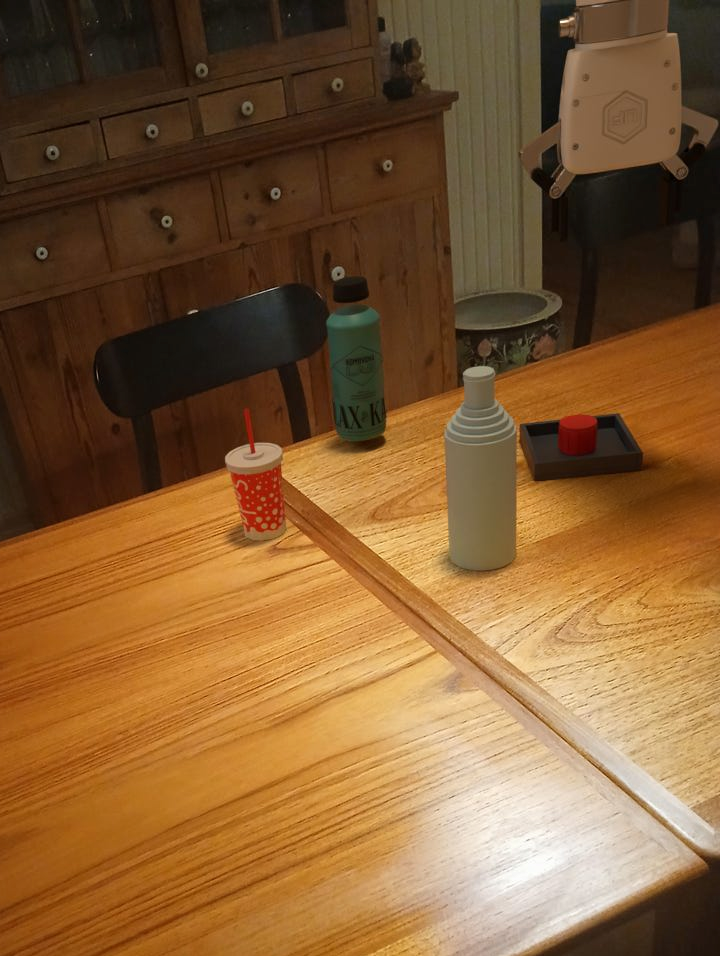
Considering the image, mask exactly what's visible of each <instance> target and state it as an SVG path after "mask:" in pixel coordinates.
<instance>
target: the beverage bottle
mask: <svg viewBox="0 0 720 956" xmlns="http://www.w3.org/2000/svg"><path fill="white" fill-rule="evenodd" d="M369 297H370V290H369V286H368V279H367V278H366V277H364V276H360V275H355V276H354V275H353V276H345V277H342V278H339V279H336V280H335V281H334V282H333V284H332V301H333V302H334V303H338V304H347V305H344V306H340V307H337V308H336V309H335V310H334V311H332V313H331V314H330V315H329V316H328V317H327V319H326V321H325V326H326V330H327V341H328V342H327V343H328V355H329V364H330V367H329V368H330V369H329V370H328V371H329V374H330V381H329V383H331V387H330V389H331V390H330V391H331V395H332V396H331V401H332V411H333V421H334V424H333V425H334V426H333V427H335V429H334V431H335V433H337V436H338V437H339V438H340V439H342V440H344V441H349V442H364V441H369V440H373V439H376V438H378V437H380V436H381V435H383V434H384V433H385V431H386V429H387V423H388V420H387V418H388V415H387V413H388V411H387V408H386V397H387V396H386V395H387V394H385V389H386V387H385V381H384V378H385V375H384V368H383V367H384V366H383V359H384V356H383V354H382V343H381V327H380V318H381V317H380V314H379V313H378V311H376V310H375V309H374V308H372V307H371V306H369V305H368V304H365V303H364V304H363V303H362V304H361V303H360V304H359V303H358V302H361V301H364V300H366V299H368V298H369ZM356 302H357V304H351V303H356Z"/></svg>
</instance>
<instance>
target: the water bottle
mask: <svg viewBox="0 0 720 956" xmlns="http://www.w3.org/2000/svg"><path fill="white" fill-rule="evenodd" d="M495 377H496V371H495V369H494V368H493V367H491V366H486V365H480V366H479V365H478V366H473V367H469V368H467V369H466V370H464V371H463V372H462V380H463V391H464V393H463V394H464V395H463V396H464V401H463V402H461V404H460V407H458V408H457V409H456V411H455V413H454V414H453V415H452V417H451V419H450V420H448V422H447V423H446V428H445V429H444V433H443V434H444V459H445V462H444V463H445V484H446V486H445V487H446V505H447V506H446V507H447V509H446V510H447V511H446V512H447V531H448V532H447V533H448V555H449V559H450V561H451V562H452V563H453V565H455V566H457V567H459V568H462V569H465V570H469V571H477V572H478V571H480V572H483V571H491V570H497V569H500V568H503V567H506V566H508V565H509V564H511V563H512V562H513V561H514V560H515V559H516V556H517V529H518V528H517V525H518V523H517V519H518V517H517V516H518V515H517V509H518V507H517V505H518V504H517V502H518V501H517V500H518V499H517V491H518V490H517V489H518V488H517V477H518V476H517V473H518V470H517V469H518V468H517V467H518V465H517V459H518V456H517V455H518V453H517V452H518V450H517V449H518V448H517V447H518V446H517V445H518V444H517V443H518V441H517V439H518V433H517V432H518V428H517V425H516V423H515V420H514V418H513V417H512V416H511V415H510V414H509V412H508V411H507V410H505V408H504V406H503V405H502V404H500V402H499V401H498V399H496V398H495V397H496V396H495V395H496V394H495V391H496V389H495Z"/></svg>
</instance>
